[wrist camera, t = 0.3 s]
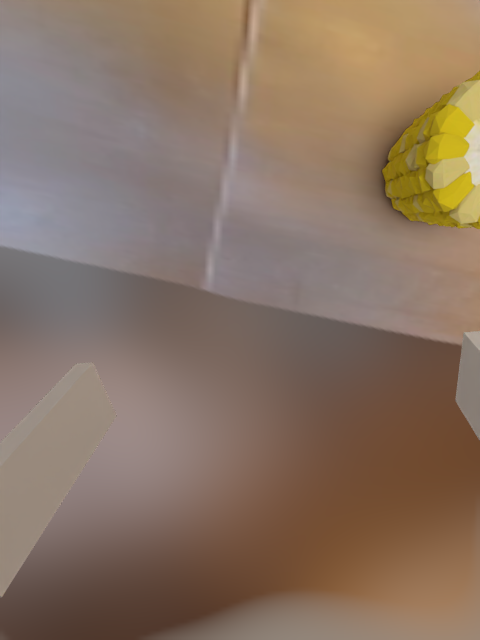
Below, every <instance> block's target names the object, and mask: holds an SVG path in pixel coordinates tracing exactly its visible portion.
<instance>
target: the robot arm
mask: <svg viewBox="0 0 480 640" xmlns="http://www.w3.org/2000/svg"><path fill="white" fill-rule="evenodd" d="M456 402H457V404H458V406H459V407H460V409H461V411H462V412H463V414H464V415H465V417H466V419H467V420H468V422H469V424H470V425H471V427H472V429H473V430H474V432H475V434H476V435H477V437H478V438H479V440H480V331H476V332H464V335H463V343H462V351H461V360H460V368H459V376H458V384H457V393H456ZM116 416H117V415H116V413H115V411H114V409H113V406H112V404H111V402H110V400H109V397H108V395H107V393H106V391H105V388H104V386H103V384H102V382H101V379H100V377H99V375H98V373H97V371H96V368H95V366H94V364H93V363H81V364H75V365H74V366H73V368H71V370H70V371H69V372H68V373H67V374H66V375H65V376H64V377H63V378H62V379H61V380H60V381H59V382H58V383H57V384H56V385H55V386H54V387H53V389H51V390H50V391H49V392H48V394H47V395H46V396H45V397H44V398H43V399H42V400H41V401H40V402H39V403H38V404H37V405H36V406H35V407H34V408H33V409H32V410H31V411H30V412H29V413H28V414H27V415H26V416H25V418H24V419H23V420H22V421H21V422H20V423H19V424H18V425H17V426H16V427H15V428H14V429H13V430H12V431H11V432H10V433H9V434H8V435H7V436H6V437H5V438H4V440H3V441H2V442H1V443H0V597H2V596H3V594H4V593H5V591H6V590H7V588H8V586H9V585H10V583H11V581H12V580H13V578H14V577H15V575H16V574H17V572H18V570H19V569H20V567H21V566H22V564H23V563H24V561H25V559H26V558H27V556H28V555H29V553H30V552H31V550H32V549H33V547H34V545H35V544H36V542H37V541H38V539H39V537H40V536H41V534H42V533H43V531H44V530H45V528H46V527H47V525H48V523H49V522H50V520H51V519H52V517H53V515H54V514H55V512H56V511H57V509H58V508H59V506H60V504H61V503H62V501H63V500H64V498H65V497H66V495H67V493H68V492H69V490H70V489H71V487H72V486H73V484H74V482H75V481H76V479H77V478H78V476H79V474H80V473H81V471H82V470H83V468H84V467H85V465H86V463H87V462H88V460H89V459H90V457H91V456H92V454H93V452H94V451H95V449H96V448H97V446H98V444H99V443H100V441H101V440H102V438H103V437H104V435H105V434H106V432H107V430H108V429H109V427H110V426H111V424H112V422H113V421H114V419H115V418H116Z"/></svg>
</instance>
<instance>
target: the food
mask: <svg viewBox="0 0 480 640" xmlns="http://www.w3.org/2000/svg"><path fill="white" fill-rule="evenodd" d="M388 160H389V163H388V164H387V165H386V167H385V168H384V169H383V170H382V172H383V175H384V179H385V182H386V187H385V191H386V196H387V197H389V198H391V201H392V206H393V208H394V209H395V210H398V211H401V212H402V214H404V215H405V216H406V217H407V218H408V219H409V220H411V221H423V222H426V223H428V224H429V225H432V224H438V225H439V226H443V225H444V226H451V227H455V226H456V227H457V228H468V227H470V228H471V227H475V228H477V229H480V71H479V72H478V73H477V74H476V75H475V76H473V77H472V78H471V79H469V80H467V81H465V82H462V84H460V85H458V86H456V87H454V88H453V89H452V90H451V92H450V93H448V94H444V95H443V96H442V98H441V100H440V101H439V102H436V103H435V104H434V105H433V106H432V107H431V108H427V109H426V111H425V112H424V114H423V115H421V116H420V118H417V119H414V122H413V124H412V125H411V126H410V127H409V128H407V129H405V132H404V133H403V134H402V136H401V137H400V138H399V140H398V141H397V142H396V144H395V145H394V146H393V147H392V148H391V150H390V152H389V154H388Z"/></svg>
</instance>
